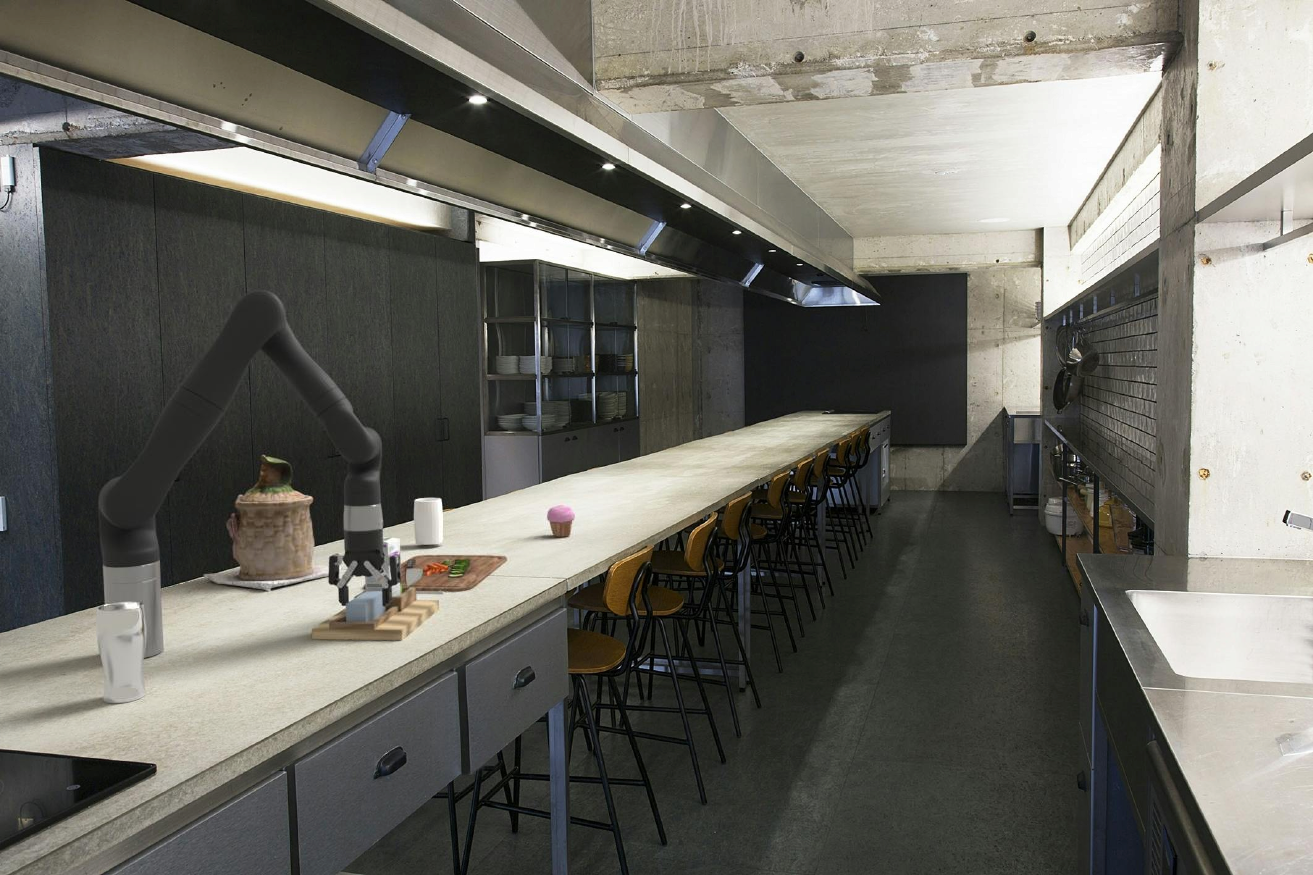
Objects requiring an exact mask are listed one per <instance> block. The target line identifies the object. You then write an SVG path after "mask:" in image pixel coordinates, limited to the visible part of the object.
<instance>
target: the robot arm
mask: <svg viewBox="0 0 1313 875" xmlns="http://www.w3.org/2000/svg"><path fill="white" fill-rule="evenodd" d="M227 318H228V319H227V320H226V322H225V324H224V326H223V327H222V329H221V331H220V333H219V334H218V335H217V337H216V339H215V341H214V342H213V344H212V345H211V346H210V347H209V349H207V351H206V352H205V353H204V355H202V357H201V358H200V359H199V360H198V361H197V363H196V364H195V366H194V367H193V368H192V369H191V370H190V371H189V373H188V374H187V376H186V377H185V378H184V379H183V381H181V383H180V385H179V386H178V387H177V389H176V390H175V392H174V393H173V394H172V396H171V397H170V398H169V400H168V401H167V403H166V404H165V406H164V407H163V409H162V411H161V413H160V415H159V417H158V419H157V421H156V423H155V425H154V427H153V430H152V432H151V434H150V436H149V438H148V441H147V443H146V445H145V446H144V447H143V449H142V451H141V452H140V454H139V455H138V457H137V458H136V459H135V460H134V462H133V463H132V464H131V465H130V466H129V467H128V469H127V470H126V471H125V472H124V473H123V474H122V475H121V476H117V477H115V478H112V479H110V480H109V481H108V482H106V483H105V485H103V487H102V488H101V489H100V492H99V495H98V503H97V504H98V505H97V506H98V524H99V525H98V526H99V538H100V541H99V542H100V550H101V556H102V572H103V573H102V574H103V591H104V605H105V604H109V603H115V602H123V601H139V602H143V603H144V612H145V619H146V646H145V653H144V659H146V658H151V657H153V656H156V655H158V654H161V653H163V652H164V649H165V648H164V627H163V605H162V588H161V587H162V586H161V585H162V584H161V583H162V582H161V562H160V547H159V541H158V536H157V526H156V515H157V513H158V512H159V509H160V508H161V506H162V504H163V502H164V500H165V498H166V496H167V495H168V493H169V491H170V489H171V487H172V486H173V484H174V482H175V480H176V479H177V477H178V475H179V473H180V472H181V471H182V469H183V468H184V466H186V464H187V462H188V461H189V460H190V459H191V458H192V457H193V455H194V454H195V453H196V452H197V451H198V449H199V448H200V447H201V446H202V444H203V443H204V441H205V440H207V437H208V436H209V435H210V434H211V433H212V431H213V430H214V428H215V427H216V425H217V424H218V423H219V422H220V420H221V418H222V417H223V415H224V413H226V411H227V410H228V408H229V407H230V404H231V403H232V401H233V399H234V396H235V395H236V393H237V391H238V389H239V387H240V385H241V382H242V379H243V377H244V375H245V372H246V370H247V368H248V367H249V365H250V363H251V362H252V360H253V359H254V358H255V356H256V354H258V352H260V351H261V352H262V353H264V354H263V355H265V356H267V358H268V359H269V360H270V361H271V362H272V363H273V364H274V365H275V366H276V368H277V369H278V370H279V371H280V372H281V373H282V374H283V376H284V377H285V378H286V380H287V381H288V382H289V384H290V385H291V387H292V388H293V389H294V391H295V392H296V394H297V395H298V396H299V397H300V399H301V400H302V401H303V403H304V404H305V405H306V407H307V409H308V410H309V411H310V412H311V414H313V416H314V417H315V419H317V421H318V422H319V423H320V424H321V425H322V426H323V429H324V430H325V431H326V434H327V435H328V437H329V439H330V441H331V442H332V444H333V446H334V447H335V449H336V450H337V452H338V453H339V454H340V455H341V456H342V458H344V459H345V460H346V461H347V476H346V478H345V479H344V483H343V500H344V501H343V502H344V506H343V507H344V508H343V544H344V546H343V548H344V555H341V554H339V553H338V552H337V553H334V554H332V555H330V556H329V557H328V566H329V576H328V579H327V580H328V584H329V585H330V586H336V587H337V589H338V590H337V591H338V594H337V595H338V602H339V604H341V606H342V607H346V603H348V602H350V595H349V594H350V591H349V589H350V588H349V585H348V584H349V583H350V581H351V580H352V578H353V577H354V576H355V577H359V578H360V577H365V576H366V577H371V576H374V577H375V579H376V580H378V581H379V582H380V583H381V585H382V586H383V587H384V588H383V589H382V605H383V607H387V606H388V605H389V603H391V601H392V586H394V585H397V584H398V583H400V582H401V571H400V559H399V555H398V554H395V555H390V556H385V555H384V552H383V537H384V533H383V531H384V527H383V526H384V519H383V510H382V504H381V500H382V499H381V483H380V479H381V478H380V477H381V470H382V457H383V444H382V439H381V437H380V435H379V434H378V433H377V431H375V430H374V429H373V428H371V427H368V426H364V425H363V424H362V423H361V421H360V420H359V418H358V417H357V416H356V414H355V413H354V407H353V405H352V404H351V402H350V401H349V399H348V397H347V396H346V395H345V394H344V393H343V392H342V390H341V389H340V388H339V386H338V385H337V384H336V383H335V382H334V380H333V379H332V378H331V377H330V376H329V374H327V372H325V370H324V369H323V368H322V367H321V366H319V365H318V363H317V362H316V361H314V360H313V359H312V357H311V356H310V355H309V353H307V352H306V351H305V349H304V348H303V346H302V345H301V343H300V342H299V341H298V339H297V338H296V336H295V334H294V333H293V330H292V328H291V327H290V325H289V323H288V322H287V321H288V320H287V315H286V309H285V306H284V304H283V302H282V301H281V300H280V298H279V297H278V296H277V295H276V294H275V293H274V292H271V291H268V290H265V289H257V290H256V289H255V290H253V291H250V292H247V293H246V294H243V296H241V297H240V298H239V299H238V300H237V302H236V303H235V305H234V307H233V309H232V311H231V313H230V315H229V317H227ZM385 561H386V562H387V565H388V566H390V572H391V579H390V578H389V576H388V575H387V572H386V571H385V570H384V568H383V567H382V565H383V563H384V562H385ZM343 563H344V565H345V566H346V568H347V569H346V571H345V572H344V573H343V574H342V577H341V578H340V574H339V567H340V565H342V564H343Z"/></svg>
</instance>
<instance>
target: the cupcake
mask: <svg viewBox="0 0 1313 875" xmlns="http://www.w3.org/2000/svg"><path fill="white" fill-rule="evenodd" d="M575 518H576V513H575V512H574V511H573V510H572V507H571V506H568V505H563V504H560V505H556V506H552V507H550V508H549V510H548V511H547V514H546V519H547V521H548V522H549V525H550V529H551V532H552V535H553V536H555V537H557V538H562V537H569V536H571V532H572V524H573V521H574V520H575Z"/></svg>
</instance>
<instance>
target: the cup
mask: <svg viewBox="0 0 1313 875" xmlns="http://www.w3.org/2000/svg"><path fill="white" fill-rule="evenodd" d="M413 502H414V504H413V506H414V507H413V527H414V528H413V529H414V540H415V544H417V545H437V544H441V543H443V534H444V521H443V520H444V517H443V516H444V515H443V514H444V513H443V502H442V498H440V497H424V498H422V497H421V498H417V499H414V501H413Z"/></svg>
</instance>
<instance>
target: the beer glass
mask: <svg viewBox="0 0 1313 875" xmlns="http://www.w3.org/2000/svg"><path fill="white" fill-rule="evenodd" d="M96 642H97V643H96V644H97V647H98V652H99V656H100V661H101V664H102V669H103V672H104V679H105V680H104V691H103V697H102V701H103V702H104V703H107V704H125V703H129V702H130V703H131V702H134V701H138V700H140V699H142V698H145V696H146V694H147V689H146V686H145V682H144V681H145V680H144V676H143V666H144V659H145V658H144V653H145V646H146V619H145V612H144V603H143V602H139V601H123V602H115V603H109V604H105V603H104V604H103V605H100V606H97V608H96Z"/></svg>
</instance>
